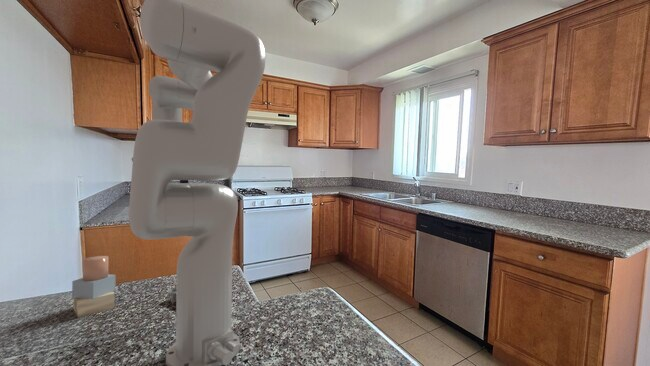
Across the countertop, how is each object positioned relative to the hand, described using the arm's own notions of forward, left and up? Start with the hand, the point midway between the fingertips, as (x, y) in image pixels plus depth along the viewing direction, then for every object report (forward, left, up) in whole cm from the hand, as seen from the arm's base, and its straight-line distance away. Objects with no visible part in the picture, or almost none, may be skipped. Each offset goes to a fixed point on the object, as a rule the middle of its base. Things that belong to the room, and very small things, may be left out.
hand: (166, 189), depth 80 cm
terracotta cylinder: (+5, +15, -23) cm, 27 cm away
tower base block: (+5, +15, -31) cm, 34 cm away
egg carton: (-9, -2, -31) cm, 32 cm away
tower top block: (+5, +15, -27) cm, 31 cm away
